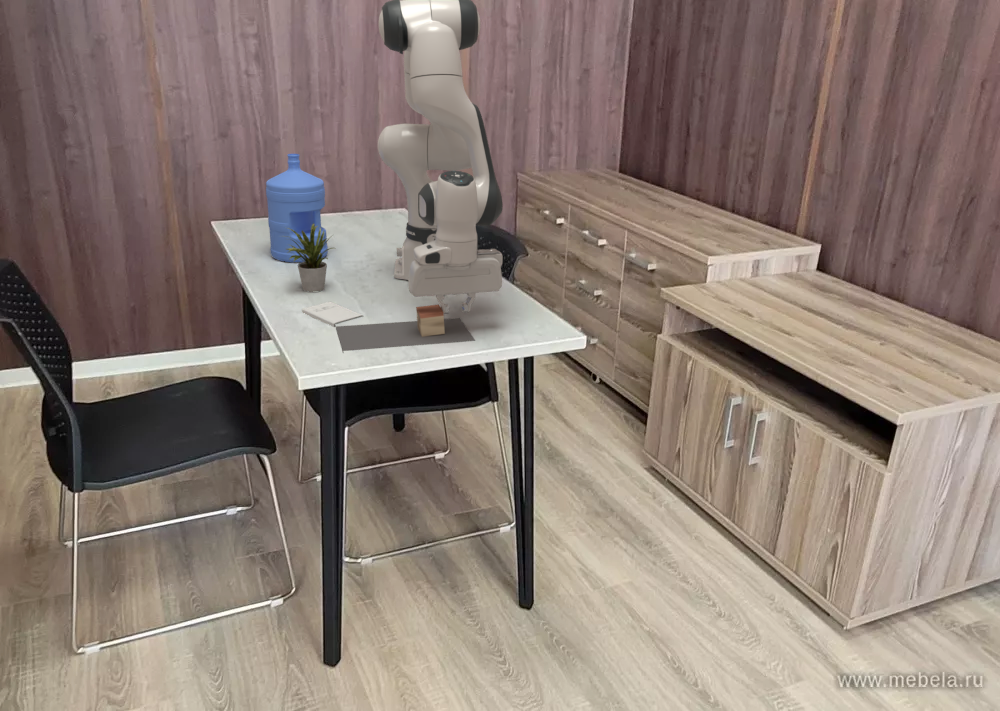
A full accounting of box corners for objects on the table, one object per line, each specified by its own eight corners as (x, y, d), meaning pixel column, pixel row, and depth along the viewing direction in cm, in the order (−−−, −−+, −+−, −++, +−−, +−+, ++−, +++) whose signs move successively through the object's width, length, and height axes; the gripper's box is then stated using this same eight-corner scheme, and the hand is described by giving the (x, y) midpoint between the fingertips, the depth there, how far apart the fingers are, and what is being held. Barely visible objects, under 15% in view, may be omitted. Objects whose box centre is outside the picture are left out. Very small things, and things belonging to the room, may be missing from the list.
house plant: (283, 279, 210) (279, 216, 204) (338, 277, 213) (335, 215, 207) (281, 297, 197) (277, 231, 191) (340, 295, 200) (337, 230, 194)
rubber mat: (335, 329, 180) (335, 326, 179) (459, 320, 187) (459, 317, 187) (343, 353, 167) (343, 350, 167) (475, 343, 175) (475, 340, 175)
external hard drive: (334, 329, 181) (302, 314, 189) (363, 321, 187) (331, 306, 194) (333, 322, 180) (301, 308, 188) (363, 314, 186) (331, 300, 194)
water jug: (259, 258, 226) (250, 156, 215) (292, 245, 240) (285, 148, 229) (307, 266, 221) (301, 161, 210) (338, 252, 235) (334, 153, 224)
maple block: (417, 328, 180) (416, 307, 178) (440, 325, 181) (438, 304, 179) (421, 336, 176) (420, 315, 174) (444, 333, 177) (443, 312, 175)
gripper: (498, 244, 179) (496, 304, 184) (406, 249, 173) (407, 310, 178) (507, 252, 173) (505, 313, 179) (412, 257, 167) (413, 320, 173)
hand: (455, 312), depth 178 cm, fingers open, 3 cm apart
